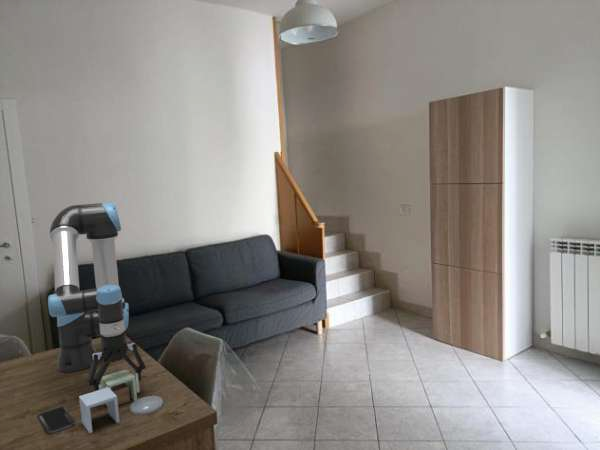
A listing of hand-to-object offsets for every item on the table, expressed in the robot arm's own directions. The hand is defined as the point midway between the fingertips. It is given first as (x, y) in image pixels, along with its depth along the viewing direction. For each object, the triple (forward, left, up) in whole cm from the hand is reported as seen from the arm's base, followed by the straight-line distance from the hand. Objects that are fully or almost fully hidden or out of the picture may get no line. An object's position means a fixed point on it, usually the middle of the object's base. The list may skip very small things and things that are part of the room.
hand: (119, 396), depth 154 cm
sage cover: (0, 0, -1) cm, 1 cm away
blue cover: (+10, -9, -1) cm, 14 cm away
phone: (-1, -19, -2) cm, 19 cm away
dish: (+11, +5, -1) cm, 12 cm away
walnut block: (0, 0, -1) cm, 1 cm away
